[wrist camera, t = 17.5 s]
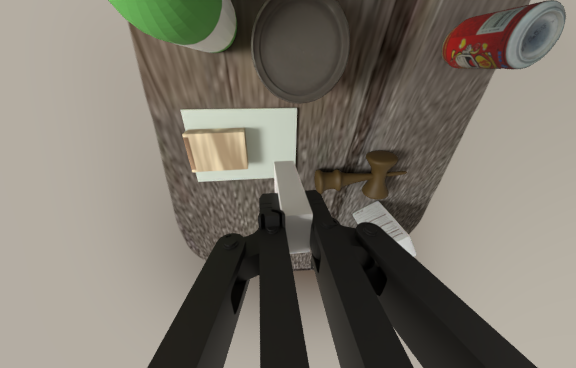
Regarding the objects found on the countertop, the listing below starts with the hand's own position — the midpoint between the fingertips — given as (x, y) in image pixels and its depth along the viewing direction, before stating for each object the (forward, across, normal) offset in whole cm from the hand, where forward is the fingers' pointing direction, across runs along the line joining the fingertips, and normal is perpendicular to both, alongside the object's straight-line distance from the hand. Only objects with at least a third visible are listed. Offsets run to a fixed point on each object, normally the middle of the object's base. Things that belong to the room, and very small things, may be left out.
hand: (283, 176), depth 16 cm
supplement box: (+25, +25, -26) cm, 44 cm away
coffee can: (+25, +3, +9) cm, 26 cm away
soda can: (+25, +33, +11) cm, 43 cm away
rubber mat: (+24, -5, -6) cm, 26 cm away
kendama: (+25, +19, -13) cm, 34 cm away
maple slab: (+22, -5, -6) cm, 24 cm away
